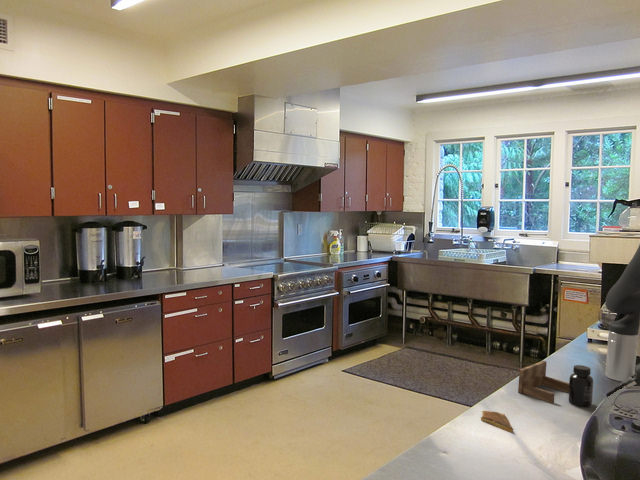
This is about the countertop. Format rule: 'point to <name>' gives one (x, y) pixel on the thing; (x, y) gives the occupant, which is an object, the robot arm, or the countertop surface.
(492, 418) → the shard
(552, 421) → the countertop surface
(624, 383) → the robot arm
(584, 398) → the supplement bottle
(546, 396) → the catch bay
